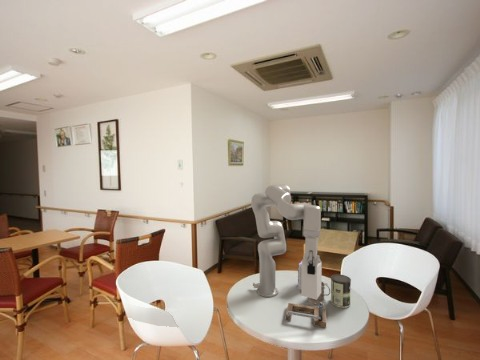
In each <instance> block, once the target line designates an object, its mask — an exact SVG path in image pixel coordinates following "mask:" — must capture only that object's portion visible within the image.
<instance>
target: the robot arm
mask: <svg viewBox="0 0 480 360" xmlns="http://www.w3.org/2000/svg"><path fill="white" fill-rule="evenodd" d="M250 202H251V204H250V205H251V208H252V212H253V213H254V217H255V223H256V229H257V235H258V236H259V238H262V239H266V238H270V239H266V240H262V241H260V242H259V243H258V244H257V251H258V257H259V259H258V260H259V282H258V283H257V282H252V286H253V288H254V289H256V292H257V294H258V295H259V296H261V297H266V298H271V297H275V296H277V295H278V294H279V290H278V288H277V287H276V272H277V271H276V269H277V268H276V262H275V260H274V258H273V256H279V255H283V254H285V253H286V252H287V242H286V237H285V231H284V227H283V225H282V222H280V221H278V220H271V219H270V214H269V211H268V210H267V209H266V207H276V208H277V211H278V213H279V214H280V215H281V216H282V217H283V218H285V219H287V220H290V221H295V220H303V237H304V238H305V241H304V245H305V246H304V253H305V259H308V265H307V274H312V275H315V266H314V260H316V256H317V255H318V248H319V247H318V246H319V245H318V244H319V238H321V236H322V235H321V234H322V233H321V229H322V227H321V225H322V224H321V223H322V221H321V220H322V218H321V217H322V215H321V213H322V209H321V207H320V206H318V205H314V204H311V203H308V202H302V203H301V202H300V203H291V202H292V196H291V189H290V187H289V185H286V184H272V185H268V186H267V187H266V188H265V190H264V192H258V193H255V194H254V195H252V197H251V201H250ZM272 238H273V239H272ZM313 258H314V259H313ZM312 260H313V261H312Z"/></svg>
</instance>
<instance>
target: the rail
mask: <svg viewBox="0 0 480 360" xmlns="http://www.w3.org/2000/svg"><path fill="white" fill-rule="evenodd" d="M290 314H291V315H292V316H298V317H304V318H310V319H314V318H315V319H321V317H320V316H316V315H314V314H311V313H305V312H299V311H288V313H287V317H288V316H289V315H290ZM288 319H289V317H288ZM288 319H287V322H290V321H289V320H288Z"/></svg>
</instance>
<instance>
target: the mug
mask: <svg viewBox="0 0 480 360" xmlns="http://www.w3.org/2000/svg"><path fill="white" fill-rule="evenodd" d="M325 286H326V287H327V289H328V294H326V293H325ZM330 295H331V287H330V286H329V284H328V283H326V282H324V281H322V280H321V294H320V296H319V297H318V299H317V300H316V299H312V298H309V297H306V299H307V301H308V302H310V303H311V304H314V305H319V302H323V305H324V304H325V303H326V298H325V296H330Z"/></svg>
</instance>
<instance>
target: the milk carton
mask: <svg viewBox="0 0 480 360" xmlns="http://www.w3.org/2000/svg"><path fill="white" fill-rule="evenodd" d="M313 259H314V258H313ZM301 261H302V264H301V290H300V291H301V293H300V294H301V296H302V297H306V298H308V297H309V298H312V299H316V300H317V299H318V297H319V296H320V294H321V281H322V275H323V274H322V270H323V269H322V266H323V265H322V260H321V258H320V255H318V254H317V256H316V260H314V266H315V275H312V274H307V265H308V259H305V252H304V253H303V257H302V260H301ZM312 261H313V260H312Z"/></svg>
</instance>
